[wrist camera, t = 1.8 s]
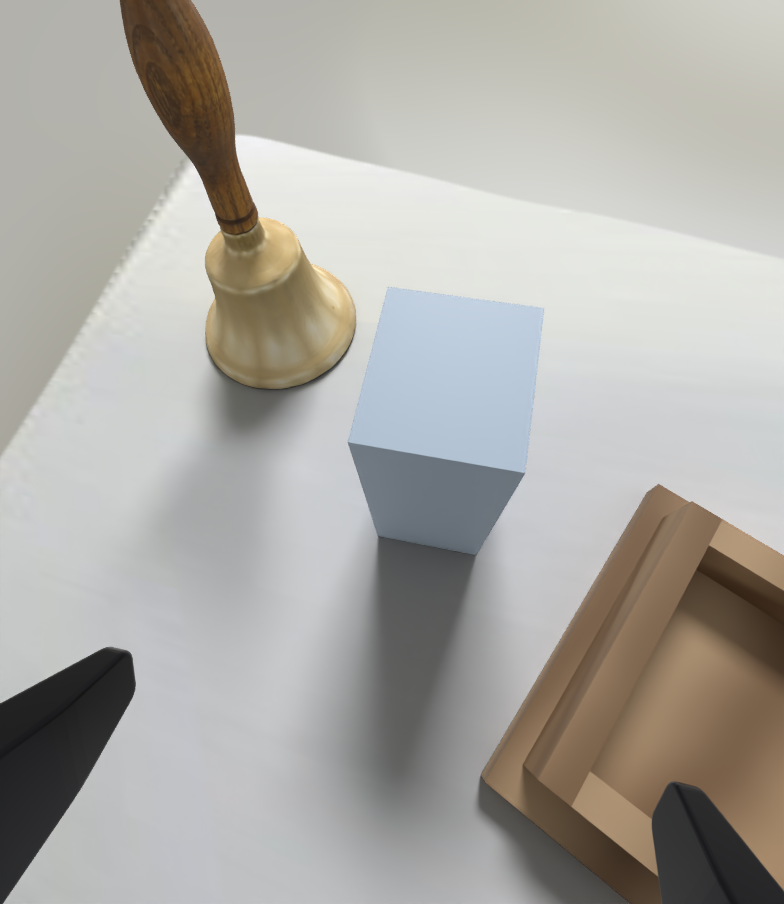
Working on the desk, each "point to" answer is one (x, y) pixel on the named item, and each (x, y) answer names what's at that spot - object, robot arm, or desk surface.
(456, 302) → the box
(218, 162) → the hand bell
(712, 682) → the tray
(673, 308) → the desk surface
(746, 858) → the robot arm
